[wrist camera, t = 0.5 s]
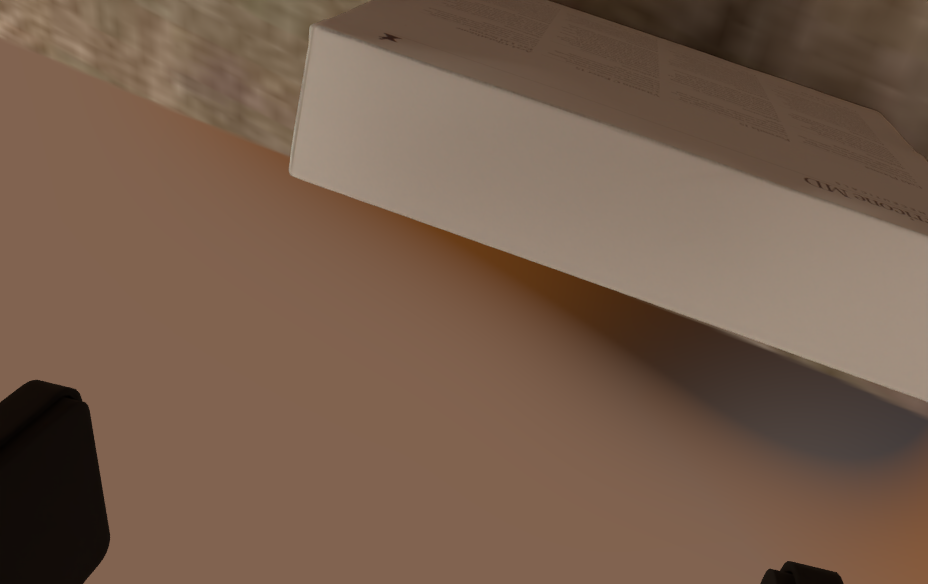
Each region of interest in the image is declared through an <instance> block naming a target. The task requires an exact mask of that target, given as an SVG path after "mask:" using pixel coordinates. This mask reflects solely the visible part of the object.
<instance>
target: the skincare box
mask: <svg viewBox="0 0 928 584" xmlns="http://www.w3.org/2000/svg"><path fill="white" fill-rule="evenodd" d="M289 173H290V175H291V176H293V177H296V178H299V179H301V180H304V181H307V182H309V183H312V184H315V185H318V186H320V187H323V188H326V189H329V190H332V191H335V192H338V193H341V194H344V195H346V196H349V197H352V198H354V199H357V200H360V201H363V202H366V203H369V204H371V205H374V206H377V207H380V208H384V209H386V210H389V211H392V212H395V213H397V214H400V215H403V216H406V217H408V218H411V219H414V220H417V221H420V222H422V223H426V224H429V225H431V226H434V227H437V228H440V229H443V230H446V231H449V232H451V233H454V234H457V235H460V236H463V237H465V238H468V239H471V240H474V241H477V242H479V243H482V244H485V245H488V246H491V247H494V248H496V249H499V250H502V251H505V252H508V253H511V254H513V255H516V256H519V257H522V258H525V259H528V260H531V261H533V262H536V263H539V264H542V265H545V266H547V267H550V268H553V269H556V270H559V271H562V272H564V273H567V274H570V275H573V276H576V277H578V278H581V279H584V280H587V281H590V282H593V283H595V284H598V285H601V286H604V287H607V288H609V289H612V290H615V291H618V292H621V293H623V294H626V295H629V296H632V297H635V298H638V299H640V300H643V301H646V302H649V303H652V304H654V305H657V306H660V307H663V308H666V309H669V310H671V311H674V312H677V313H680V314H683V315H685V316H688V317H691V318H694V319H697V320H700V321H702V322H705V323H708V324H711V325H714V326H716V327H719V328H722V329H725V330H728V331H731V332H733V333H736V334H739V335H742V336H745V337H747V338H750V339H753V340H756V341H759V342H761V343H764V344H767V345H770V346H773V347H775V348H778V349H781V350H784V351H787V352H790V353H792V354H795V355H798V356H801V357H804V358H806V359H809V360H812V361H815V362H818V363H820V364H823V365H826V366H829V367H832V368H834V369H837V370H840V371H843V372H846V373H848V374H851V375H854V376H857V377H860V378H862V379H865V380H868V381H871V382H874V383H876V384H879V385H882V386H885V387H888V388H890V389H893V390H896V391H899V392H902V393H904V394H907V395H910V396H913V397H916V398H918V399H921V400H923V401H926V402H928V161H927V160H926V159H925V158H924V157H923V156H922V155H920V154H919V153H916V152H915V151H914V150H913V149H912V147H911V146H910V145H909V144H908V143H907V142H906V141H905V139H904V138H903V137H902V136H901V135H900V134H899V133H898V132H897V130H896V129H895V128H894V127H893V126H892V125H891V124H890V123H889V122H888V121H887V120H886V119H885V118H884V116H883V115H882V114H881V113H880V112H878V111H875V110H872V109H869V108H866V107H863V106H860V105H857V104H854V103H851V102H848V101H845V100H842V99H839V98H836V97H833V96H830V95H827V94H825V93H822V92H819V91H816V90H813V89H810V88H807V87H805V86H802V85H799V84H796V83H793V82H790V81H787V80H784V79H781V78H778V77H775V76H772V75H769V74H766V73H763V72H759V71H756V70H753V69H750V68H747V67H744V66H741V65H738V64H735V63H732V62H730V61H727V60H724V59H721V58H718V57H715V56H712V55H710V54H707V53H704V52H701V51H698V50H695V49H692V48H689V47H686V46H683V45H680V44H677V43H674V42H671V41H668V40H665V39H662V38H659V37H656V36H653V35H650V34H647V33H644V32H641V31H639V30H636V29H633V28H630V27H627V26H624V25H621V24H618V23H615V22H612V21H609V20H606V19H603V18H600V17H597V16H594V15H591V14H588V13H585V12H582V11H579V10H576V9H573V8H570V7H567V6H564V5H561V4H558V3H555V2H552V1H549V0H372V1H369V2H367V3H365V4H363V5H360V6H358V7H356V8H353V9H351V10H349V11H347V12H344V13H342V14H340V15H337V16H335V17H332V18H330V19H324V20H322V21H320V22H317V23H314V24H312V25H311V26H310V28H309V45H308V51H307V57H306V63H305V69H304V75H303V80H302V86H301V92H300V98H299V104H298V109H297V115H296V121H295V127H294V134H293V141H292V147H291V156H290V165H289Z"/></svg>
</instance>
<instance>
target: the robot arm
mask: <svg viewBox="0 0 928 584" xmlns="http://www.w3.org/2000/svg"><path fill="white" fill-rule="evenodd" d="M109 542H110V532H109V526H108V520H107V514H106V508H105V502H104V496H103V490H102V484H101V477H100V471H99V465H98V459H97V453H96V448H95V441H94V435H93V429H92V422H91V417H90V410H89V407H88V405H87V404H86V403H85V402H82V399H81V396H80V393H79V392H78V391H77V390H76V389H72V388H69V387H65V386H61V385H57V384H52V383H48V382H44V381H40V380H33V381H29V382H27V383H26V384H24V385H22V386H21V387H20V388H18V389H17V390H16V391H14V392H13V393H12V394H11V395H9V396H8V397H7V398H6V399H4V400H3V401H1V402H0V584H83V583H84V582H85V580H86V579H87V578H88V577H89V576H90V574H91V573H92V572H93V571H94V570H95V568H96V567H97V566H98V565H99V564H100V562H101V561H102V560H103V558H104V556H105V554H106V552H107V549H108V546H109ZM761 584H843V581H842V579H841V577H840V576H839V575H838V573H837V572H833V571H829V570H825V569H820V568H816V567H812V566H808V565H804V564H799V563H796V562H791V561H787V562H786V563H785V564H784V565H783V567H782V568H781V570H780V571H778V570H773V569H769V570H767V571H766V573H765V575H764V577H763V579H762V582H761Z"/></svg>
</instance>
